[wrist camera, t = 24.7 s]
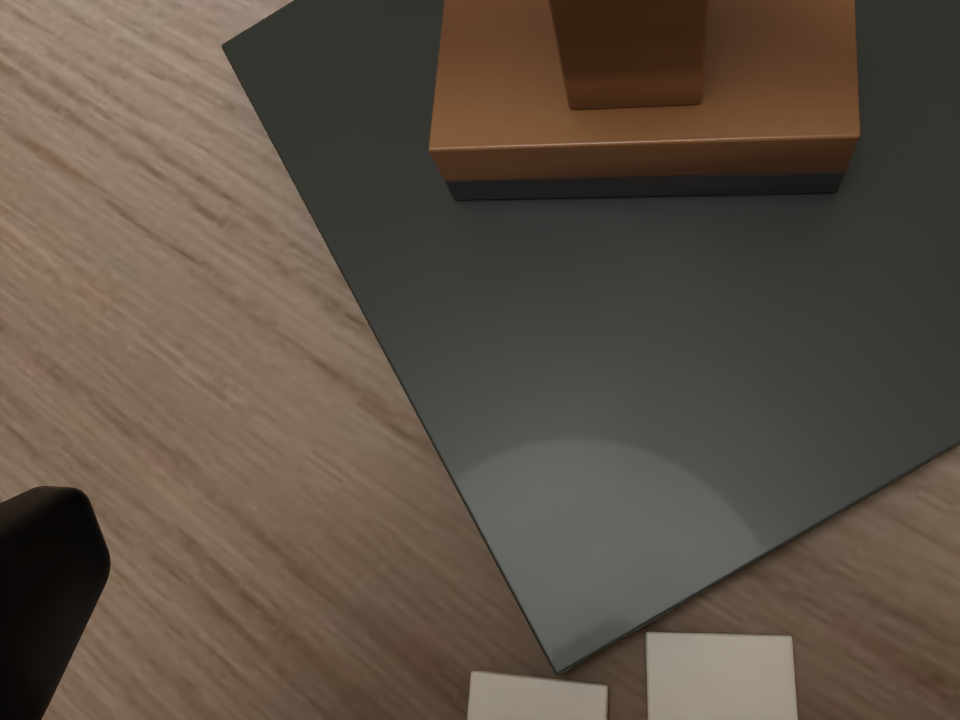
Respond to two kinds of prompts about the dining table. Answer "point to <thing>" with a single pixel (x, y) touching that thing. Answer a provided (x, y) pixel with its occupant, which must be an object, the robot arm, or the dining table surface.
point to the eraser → (644, 97)
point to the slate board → (637, 317)
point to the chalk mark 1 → (534, 698)
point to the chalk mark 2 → (720, 676)
